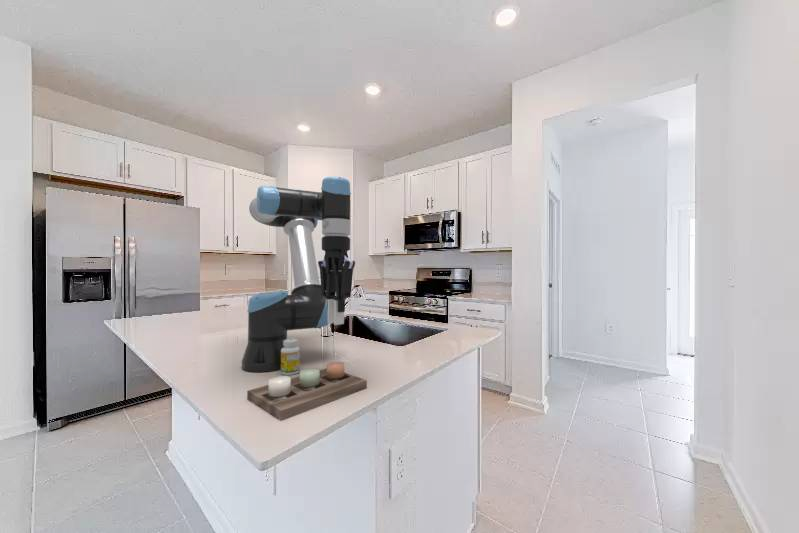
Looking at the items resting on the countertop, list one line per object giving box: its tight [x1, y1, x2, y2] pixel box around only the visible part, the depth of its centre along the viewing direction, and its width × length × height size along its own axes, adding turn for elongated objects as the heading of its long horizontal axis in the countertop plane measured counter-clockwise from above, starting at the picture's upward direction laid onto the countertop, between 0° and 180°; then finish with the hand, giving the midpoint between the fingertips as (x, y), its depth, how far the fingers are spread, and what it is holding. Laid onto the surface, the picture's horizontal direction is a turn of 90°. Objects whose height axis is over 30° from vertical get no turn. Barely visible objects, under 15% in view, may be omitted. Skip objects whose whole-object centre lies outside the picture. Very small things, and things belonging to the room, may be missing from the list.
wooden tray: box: [246, 368, 368, 421], centre depth 81 cm, size 16×24×2 cm, turn 138°
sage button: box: [299, 367, 321, 388], centre depth 81 cm, size 5×5×3 cm
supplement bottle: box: [280, 338, 301, 376], centre depth 97 cm, size 5×5×10 cm
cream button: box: [268, 375, 291, 398], centre depth 75 cm, size 5×5×3 cm
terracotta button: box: [325, 361, 346, 378], centre depth 87 cm, size 5×5×3 cm
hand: (335, 323), depth 87 cm, fingers open, 2 cm apart
